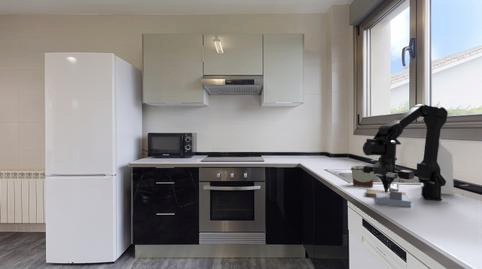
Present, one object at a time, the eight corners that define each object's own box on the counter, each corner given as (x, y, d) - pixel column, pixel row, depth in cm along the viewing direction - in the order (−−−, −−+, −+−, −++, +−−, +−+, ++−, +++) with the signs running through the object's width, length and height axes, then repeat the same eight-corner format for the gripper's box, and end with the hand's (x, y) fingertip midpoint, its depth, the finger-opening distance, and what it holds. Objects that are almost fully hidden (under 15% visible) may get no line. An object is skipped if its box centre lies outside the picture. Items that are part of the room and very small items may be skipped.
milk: (453, 194, 131) (455, 138, 131) (424, 192, 136) (425, 137, 136) (447, 189, 142) (448, 137, 142) (420, 187, 147) (421, 137, 146)
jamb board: (405, 195, 128) (405, 190, 128) (407, 200, 120) (407, 195, 120) (366, 192, 135) (366, 187, 135) (366, 196, 127) (366, 191, 127)
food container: (375, 185, 151) (376, 166, 151) (375, 187, 146) (376, 168, 146) (351, 183, 157) (351, 165, 156) (350, 185, 151) (350, 166, 151)
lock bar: (389, 190, 127) (389, 182, 127) (398, 191, 126) (398, 183, 126) (388, 196, 116) (389, 188, 116) (399, 197, 114) (399, 189, 114)
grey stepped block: (407, 200, 120) (407, 188, 119) (410, 206, 110) (410, 193, 110) (376, 197, 125) (376, 185, 125) (376, 203, 115) (376, 190, 115)
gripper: (356, 154, 120) (355, 190, 121) (403, 159, 106) (401, 200, 107) (369, 152, 127) (368, 186, 128) (415, 157, 113) (413, 196, 114)
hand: (386, 192), depth 119 cm, fingers closed
